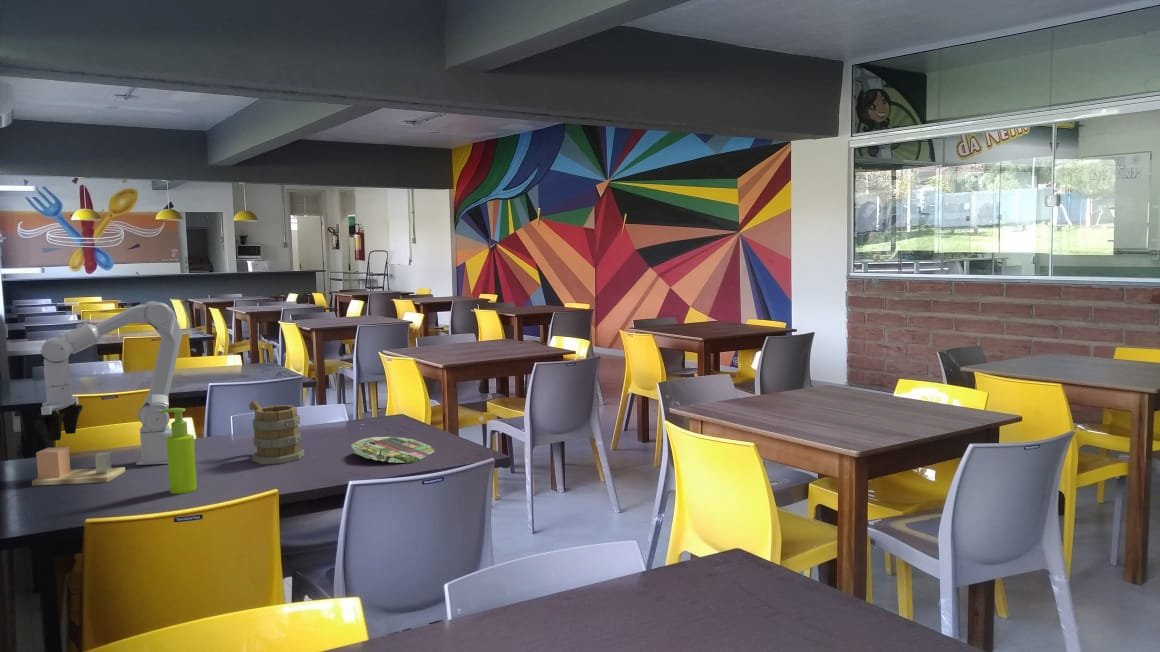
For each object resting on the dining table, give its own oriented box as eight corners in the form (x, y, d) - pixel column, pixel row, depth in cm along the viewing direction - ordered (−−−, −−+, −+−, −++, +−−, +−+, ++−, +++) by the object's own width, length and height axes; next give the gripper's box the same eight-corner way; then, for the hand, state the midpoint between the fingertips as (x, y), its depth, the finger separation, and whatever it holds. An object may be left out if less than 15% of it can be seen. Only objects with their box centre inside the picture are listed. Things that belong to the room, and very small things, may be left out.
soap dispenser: (171, 487, 203) (165, 406, 201) (200, 486, 204) (195, 405, 202) (161, 494, 197) (155, 411, 195) (191, 493, 198) (185, 410, 196)
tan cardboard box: (70, 471, 216) (68, 446, 215) (59, 477, 210) (57, 451, 210) (49, 472, 215) (47, 447, 215) (38, 478, 210) (36, 452, 209)
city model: (415, 477, 216) (417, 454, 215) (332, 463, 220) (334, 441, 220) (449, 455, 240) (451, 434, 240) (373, 443, 245) (375, 422, 244)
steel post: (111, 471, 215) (110, 452, 215) (107, 473, 213) (105, 454, 212) (101, 471, 215) (99, 452, 215) (96, 474, 213) (94, 455, 212)
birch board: (125, 471, 219) (125, 467, 219) (107, 482, 209) (107, 477, 209) (53, 474, 218) (53, 470, 218) (32, 485, 208) (31, 480, 208)
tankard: (311, 457, 230) (308, 404, 229) (267, 466, 221) (264, 411, 219) (276, 446, 244) (273, 396, 242) (234, 455, 234) (230, 403, 233)
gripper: (56, 381, 221) (61, 431, 222) (26, 390, 207) (31, 444, 208) (84, 380, 222) (89, 430, 223) (56, 389, 207) (61, 442, 209)
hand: (63, 436), depth 216 cm, fingers open, 7 cm apart
